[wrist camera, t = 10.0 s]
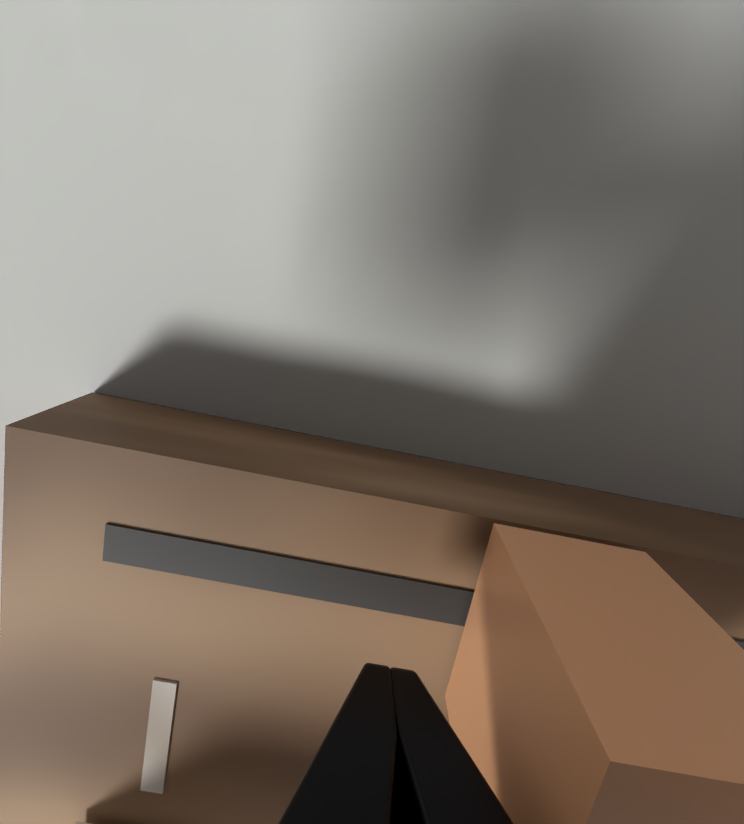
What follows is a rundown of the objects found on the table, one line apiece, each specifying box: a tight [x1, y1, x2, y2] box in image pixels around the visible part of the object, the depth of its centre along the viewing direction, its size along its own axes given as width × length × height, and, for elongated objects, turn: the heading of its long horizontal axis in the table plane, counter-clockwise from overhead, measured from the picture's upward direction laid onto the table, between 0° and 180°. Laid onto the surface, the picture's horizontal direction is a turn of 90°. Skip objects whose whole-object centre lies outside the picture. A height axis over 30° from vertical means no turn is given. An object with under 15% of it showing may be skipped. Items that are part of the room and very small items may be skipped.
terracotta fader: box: [445, 523, 744, 824], centre depth 8 cm, size 4×3×5 cm
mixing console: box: [0, 393, 744, 824], centre depth 13 cm, size 13×22×3 cm, turn 79°
